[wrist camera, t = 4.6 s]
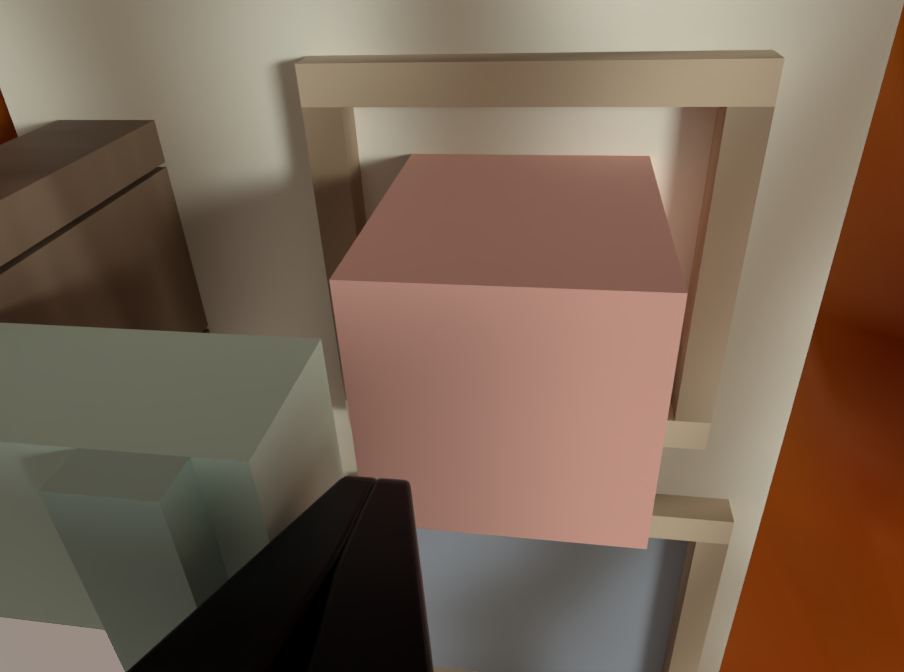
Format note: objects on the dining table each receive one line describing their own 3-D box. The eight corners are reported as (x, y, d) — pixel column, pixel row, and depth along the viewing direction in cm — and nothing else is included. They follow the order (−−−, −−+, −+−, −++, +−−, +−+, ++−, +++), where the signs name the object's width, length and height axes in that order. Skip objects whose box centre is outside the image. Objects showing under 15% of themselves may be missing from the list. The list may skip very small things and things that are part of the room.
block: (649, 155, 12) (687, 292, 8) (626, 357, 14) (646, 548, 10) (411, 154, 13) (328, 280, 8) (425, 347, 15) (365, 523, 11)
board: (890, -46, 11) (1283, 24, 5) (701, 685, 21) (750, 999, 15) (2, -18, 13) (-486, 53, 7) (222, 628, 23) (99, 881, 17)
